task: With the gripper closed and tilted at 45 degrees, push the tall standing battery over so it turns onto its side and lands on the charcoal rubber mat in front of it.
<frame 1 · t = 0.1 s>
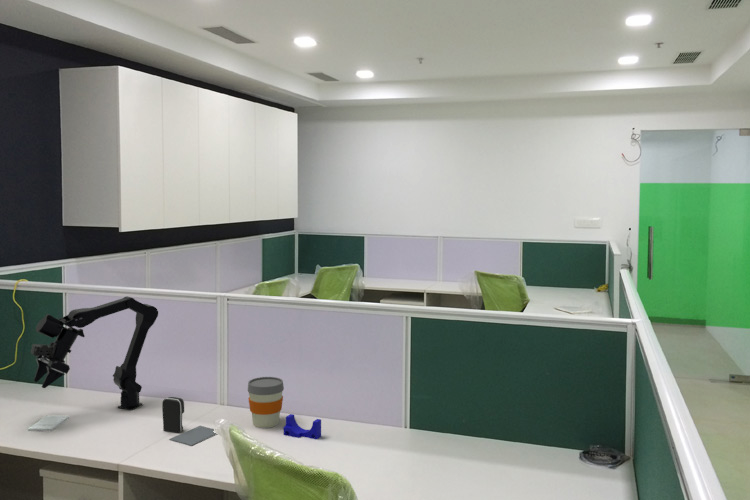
hand: (39, 384, 227), 15 cm above the table, tool tilted 35°, fingers open, 9 cm apart
blue cradle bracket: (302, 436, 222), on the table
mat: (196, 435, 221), on the table
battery: (174, 430, 226), on the table
external hard drive: (48, 426, 230), on the table
reusable coffee cup: (266, 423, 233), on the table
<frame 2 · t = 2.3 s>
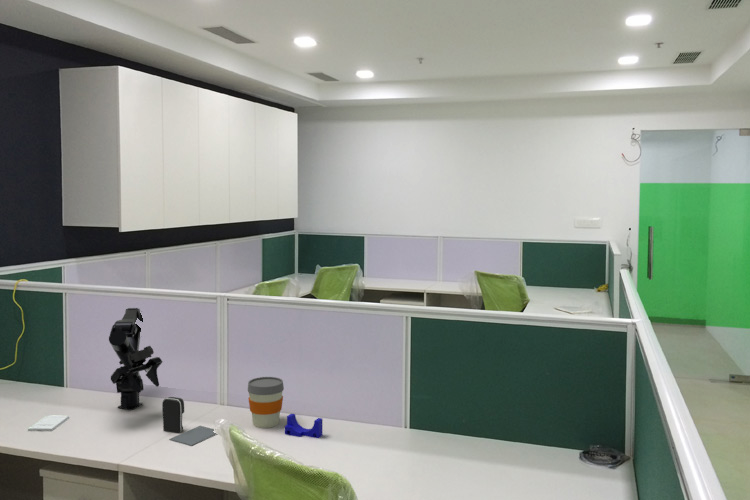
hand: (149, 389, 230), 13 cm above the table, tool tilted 45°, fingers open, 8 cm apart
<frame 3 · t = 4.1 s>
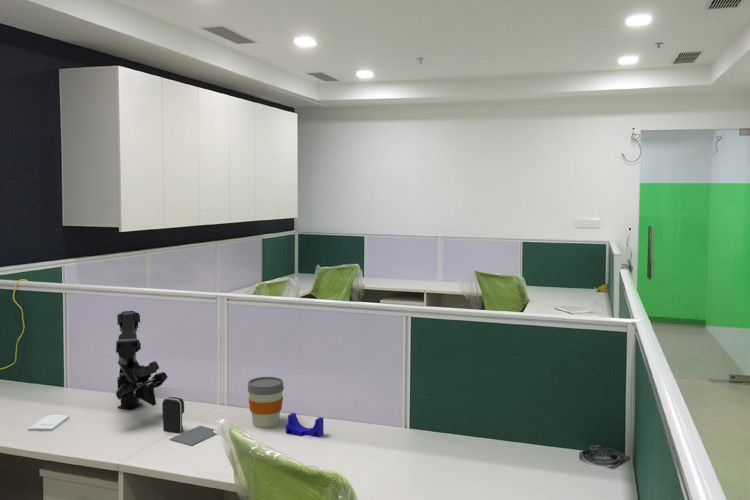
hand: (154, 404, 230), 7 cm above the table, tool tilted 45°, fingers closed
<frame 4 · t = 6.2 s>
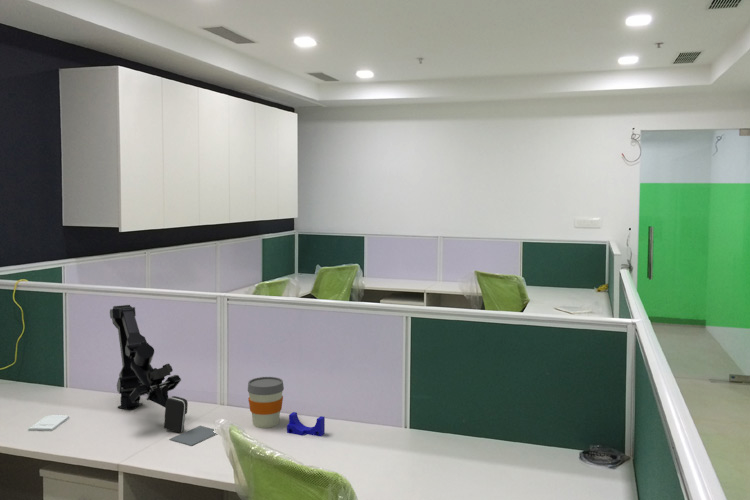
hand: (168, 407, 226), 8 cm above the table, tool tilted 45°, fingers closed, pressing on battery
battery: (174, 429, 226), on the table, touching gripper
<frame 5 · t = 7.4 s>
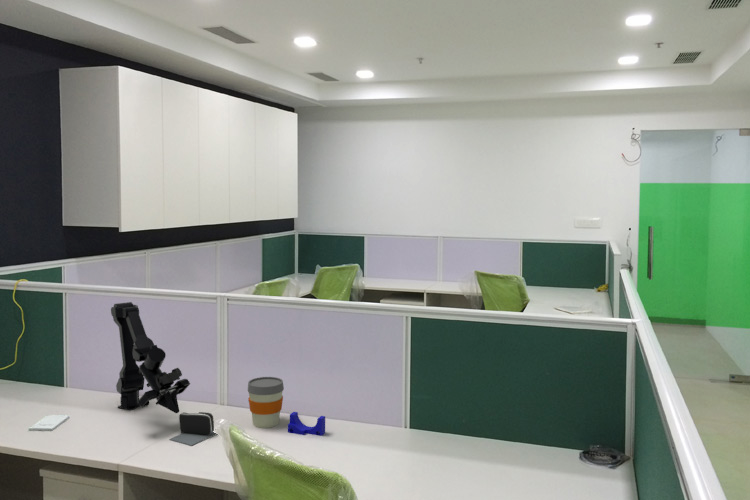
hand: (177, 412, 224), 7 cm above the table, tool tilted 45°, fingers closed
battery: (181, 421, 224), point 4 cm above the table, touching mat
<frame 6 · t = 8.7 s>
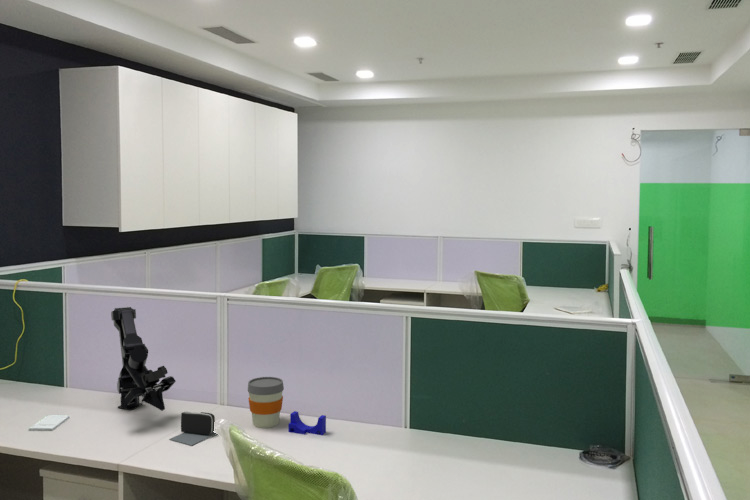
hand: (163, 409, 228), 6 cm above the table, tool tilted 45°, fingers closed
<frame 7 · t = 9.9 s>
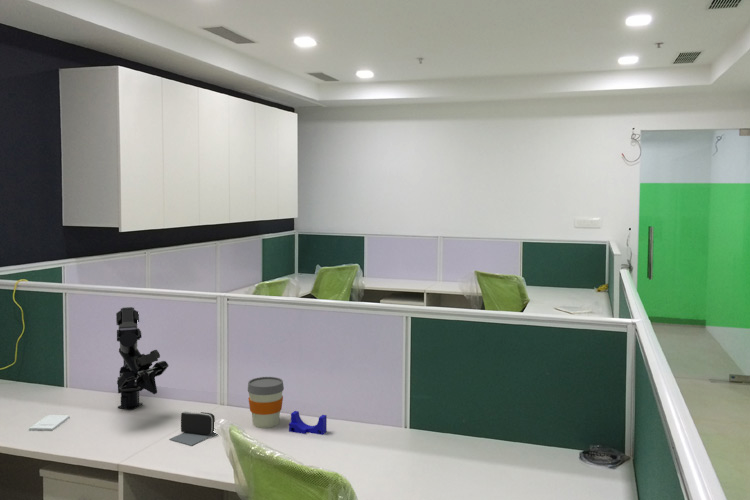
hand: (155, 393, 229), 12 cm above the table, tool tilted 45°, fingers closed
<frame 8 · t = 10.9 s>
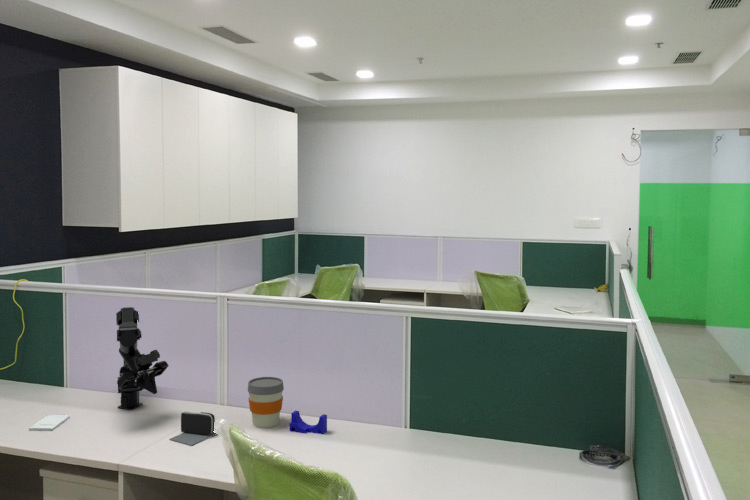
hand: (155, 393, 229), 12 cm above the table, tool tilted 45°, fingers closed
at the end: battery tilted 90°; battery touching mat; the gripper is holding nothing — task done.
